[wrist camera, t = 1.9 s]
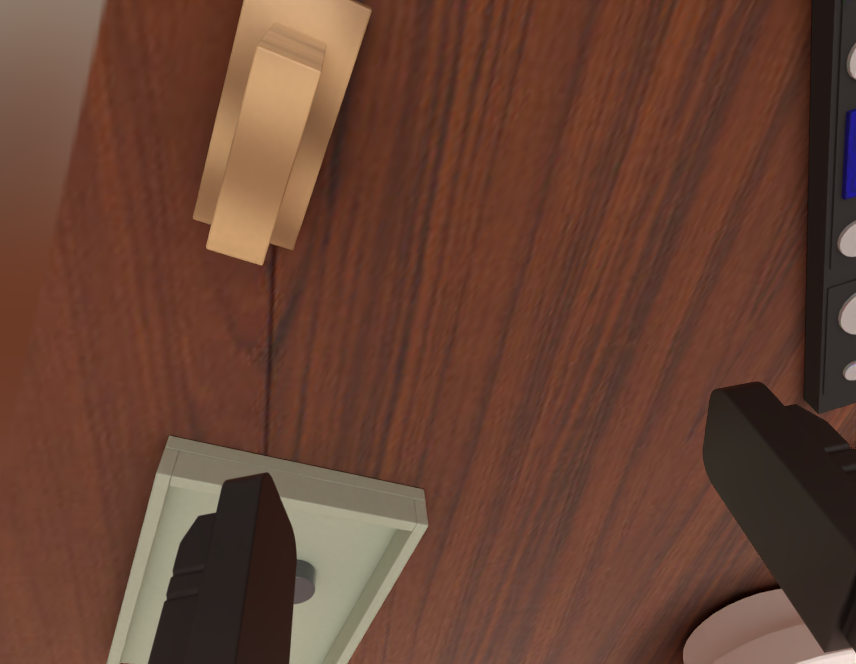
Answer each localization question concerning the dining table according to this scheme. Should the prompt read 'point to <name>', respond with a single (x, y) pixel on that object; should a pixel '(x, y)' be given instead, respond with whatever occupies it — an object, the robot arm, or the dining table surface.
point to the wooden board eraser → (276, 120)
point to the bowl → (759, 636)
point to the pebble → (304, 582)
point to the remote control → (832, 210)
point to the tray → (314, 534)
